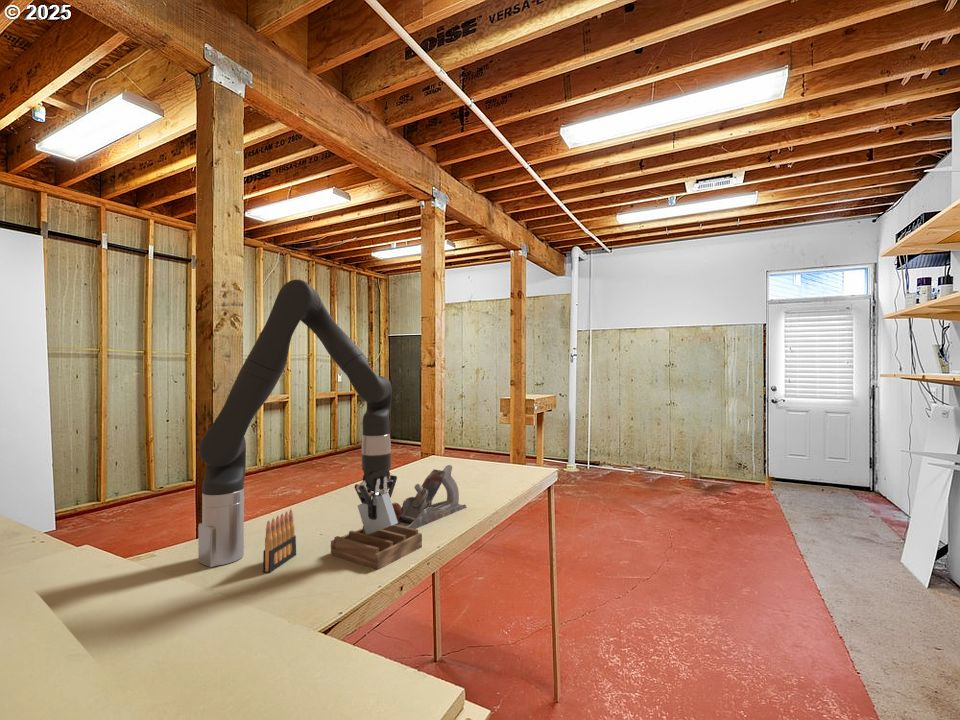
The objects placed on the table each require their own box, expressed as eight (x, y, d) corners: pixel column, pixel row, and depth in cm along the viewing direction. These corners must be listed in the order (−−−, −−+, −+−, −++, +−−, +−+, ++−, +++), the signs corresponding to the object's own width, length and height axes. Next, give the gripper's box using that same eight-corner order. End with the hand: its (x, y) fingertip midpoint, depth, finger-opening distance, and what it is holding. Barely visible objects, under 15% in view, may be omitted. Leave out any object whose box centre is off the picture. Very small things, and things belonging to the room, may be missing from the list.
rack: (378, 569, 107) (377, 550, 107) (330, 554, 117) (330, 536, 117) (421, 546, 121) (421, 530, 121) (376, 535, 130) (376, 519, 130)
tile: (391, 525, 114) (381, 494, 116) (366, 535, 119) (357, 505, 121) (398, 522, 116) (388, 492, 118) (372, 532, 121) (364, 503, 123)
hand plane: (375, 531, 134) (374, 480, 134) (447, 503, 161) (447, 461, 161) (396, 538, 129) (396, 485, 129) (467, 508, 156) (467, 464, 156)
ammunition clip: (269, 573, 106) (269, 521, 107) (262, 572, 107) (262, 521, 107) (296, 554, 117) (296, 508, 117) (290, 554, 117) (289, 507, 117)
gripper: (366, 457, 111) (367, 528, 111) (404, 448, 123) (405, 512, 123) (345, 454, 116) (346, 522, 115) (384, 446, 127) (385, 508, 127)
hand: (376, 517), depth 119 cm, fingers closed on tile, 2 cm apart
